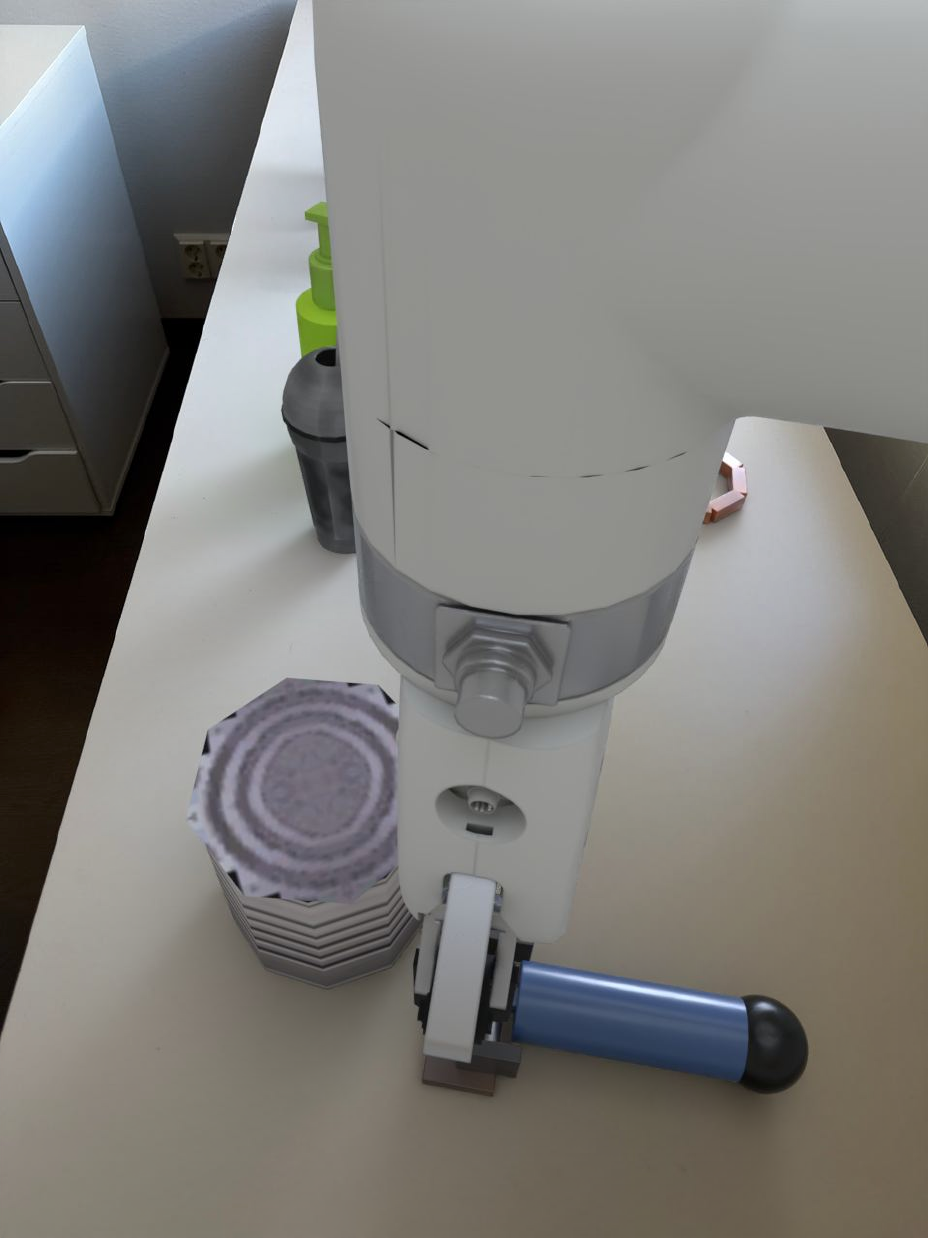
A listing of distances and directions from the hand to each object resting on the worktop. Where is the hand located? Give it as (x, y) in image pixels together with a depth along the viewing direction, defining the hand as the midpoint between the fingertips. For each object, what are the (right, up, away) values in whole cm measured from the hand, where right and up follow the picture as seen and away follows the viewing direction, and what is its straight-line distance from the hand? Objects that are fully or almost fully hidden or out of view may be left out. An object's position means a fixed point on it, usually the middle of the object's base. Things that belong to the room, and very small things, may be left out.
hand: (484, 873), depth 34 cm
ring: (+18, +21, +41) cm, 49 cm away
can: (-8, -6, +17) cm, 20 cm away
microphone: (+8, -12, +12) cm, 19 cm away
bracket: (+1, -11, +13) cm, 17 cm away
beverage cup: (-10, +16, +36) cm, 40 cm away
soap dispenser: (-10, +24, +43) cm, 50 cm away
